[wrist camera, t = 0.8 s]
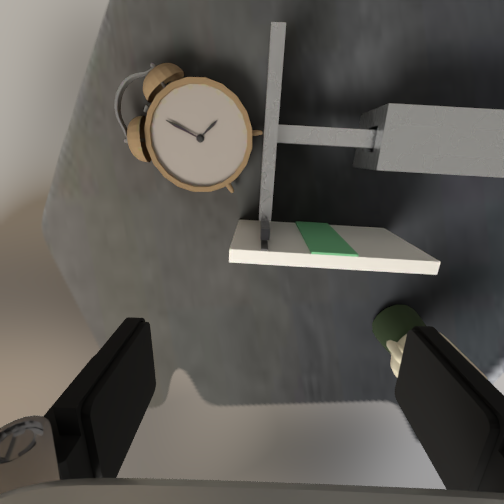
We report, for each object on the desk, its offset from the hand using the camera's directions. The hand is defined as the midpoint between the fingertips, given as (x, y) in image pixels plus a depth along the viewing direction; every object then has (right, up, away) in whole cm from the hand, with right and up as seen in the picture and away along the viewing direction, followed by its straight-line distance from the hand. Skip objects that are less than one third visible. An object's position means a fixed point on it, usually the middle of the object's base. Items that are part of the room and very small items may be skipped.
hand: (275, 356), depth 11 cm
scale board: (+6, +7, +26) cm, 27 cm away
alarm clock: (-8, +18, +23) cm, 30 cm away
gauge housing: (+17, +16, +22) cm, 32 cm away
